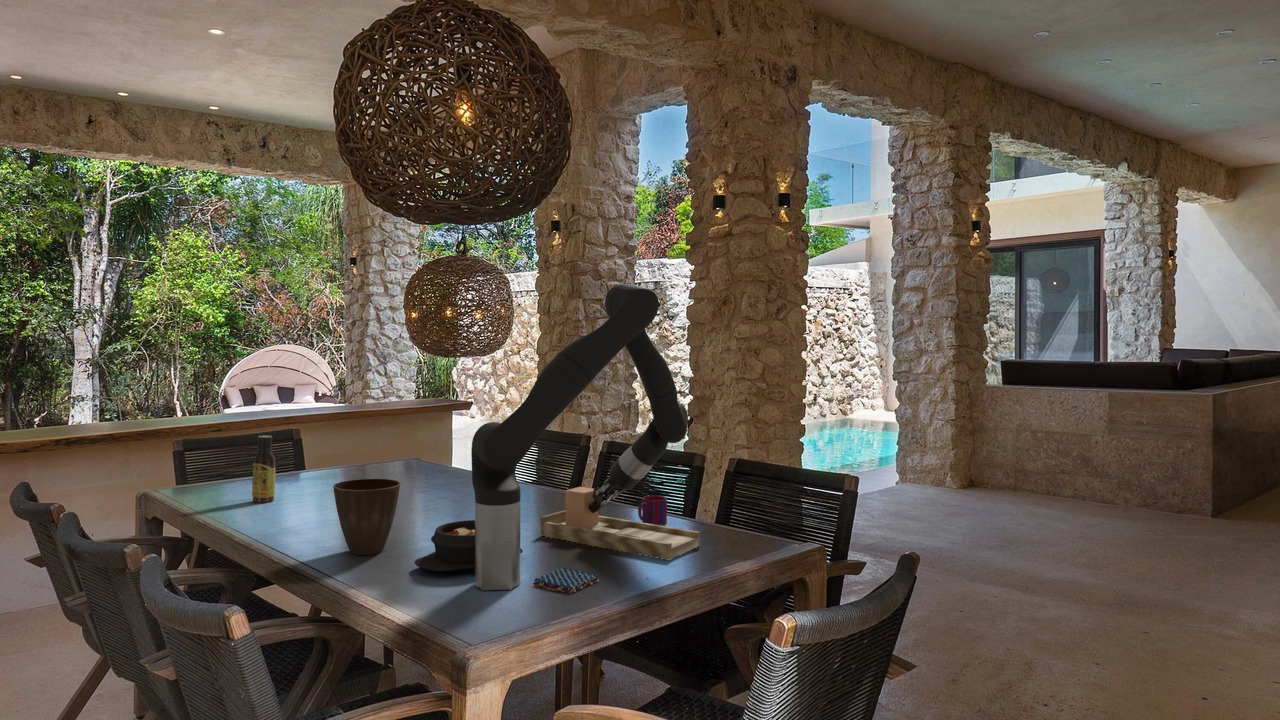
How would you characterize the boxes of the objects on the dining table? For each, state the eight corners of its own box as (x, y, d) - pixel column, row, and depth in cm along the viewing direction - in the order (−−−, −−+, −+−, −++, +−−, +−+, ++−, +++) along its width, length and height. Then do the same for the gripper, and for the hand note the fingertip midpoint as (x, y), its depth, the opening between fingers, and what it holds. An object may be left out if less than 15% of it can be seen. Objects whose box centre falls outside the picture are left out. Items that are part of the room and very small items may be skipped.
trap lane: (699, 546, 200) (699, 526, 199) (668, 560, 188) (668, 538, 187) (575, 525, 221) (575, 506, 220) (540, 536, 209) (540, 516, 208)
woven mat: (529, 588, 168) (529, 578, 168) (561, 575, 177) (561, 566, 177) (570, 597, 163) (570, 587, 163) (601, 584, 172) (601, 574, 172)
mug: (671, 522, 224) (672, 498, 224) (645, 528, 217) (645, 503, 217) (654, 518, 229) (654, 494, 229) (628, 524, 222) (628, 499, 222)
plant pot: (377, 539, 204) (377, 476, 204) (413, 550, 195) (412, 483, 194) (321, 552, 193) (320, 484, 192) (356, 564, 183) (356, 492, 183)
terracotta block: (598, 523, 212) (598, 489, 211) (584, 528, 207) (584, 493, 206) (579, 520, 215) (579, 486, 215) (565, 525, 210) (565, 490, 210)
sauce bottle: (247, 502, 246) (246, 436, 246) (262, 498, 252) (262, 434, 252) (265, 504, 244) (264, 437, 244) (280, 500, 250) (279, 435, 250)
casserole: (444, 586, 168) (444, 545, 168) (397, 567, 181) (397, 529, 181) (540, 561, 186) (540, 525, 186) (491, 546, 199) (491, 512, 199)
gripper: (638, 451, 208) (599, 494, 215) (607, 458, 197) (567, 502, 204) (655, 474, 205) (615, 516, 213) (625, 482, 194) (584, 526, 202)
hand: (591, 509), depth 208 cm, fingers closed
